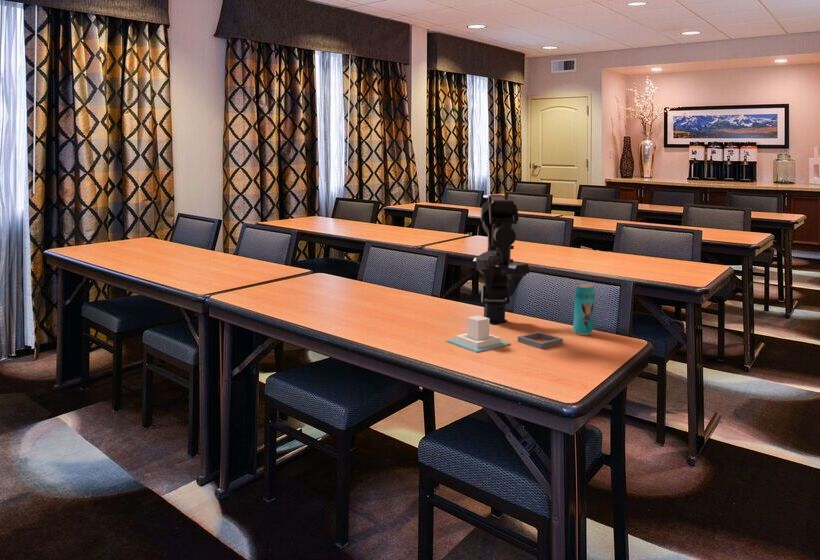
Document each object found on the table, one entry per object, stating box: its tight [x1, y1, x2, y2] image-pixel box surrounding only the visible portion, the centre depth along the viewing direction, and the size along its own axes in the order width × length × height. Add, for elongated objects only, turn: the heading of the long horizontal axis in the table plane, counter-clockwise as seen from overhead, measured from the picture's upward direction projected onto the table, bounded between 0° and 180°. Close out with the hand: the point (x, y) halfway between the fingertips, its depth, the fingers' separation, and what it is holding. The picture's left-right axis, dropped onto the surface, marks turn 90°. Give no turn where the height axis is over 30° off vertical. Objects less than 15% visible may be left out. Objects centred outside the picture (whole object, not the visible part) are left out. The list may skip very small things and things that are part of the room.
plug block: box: [466, 314, 491, 342], centre depth 178 cm, size 4×5×7 cm
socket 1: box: [445, 332, 511, 354], centre depth 178 cm, size 13×13×2 cm
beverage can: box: [572, 282, 596, 336], centre depth 188 cm, size 6×6×15 cm
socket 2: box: [517, 331, 564, 350], centre depth 179 cm, size 9×9×2 cm
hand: (499, 293), depth 188 cm, fingers open, 9 cm apart
